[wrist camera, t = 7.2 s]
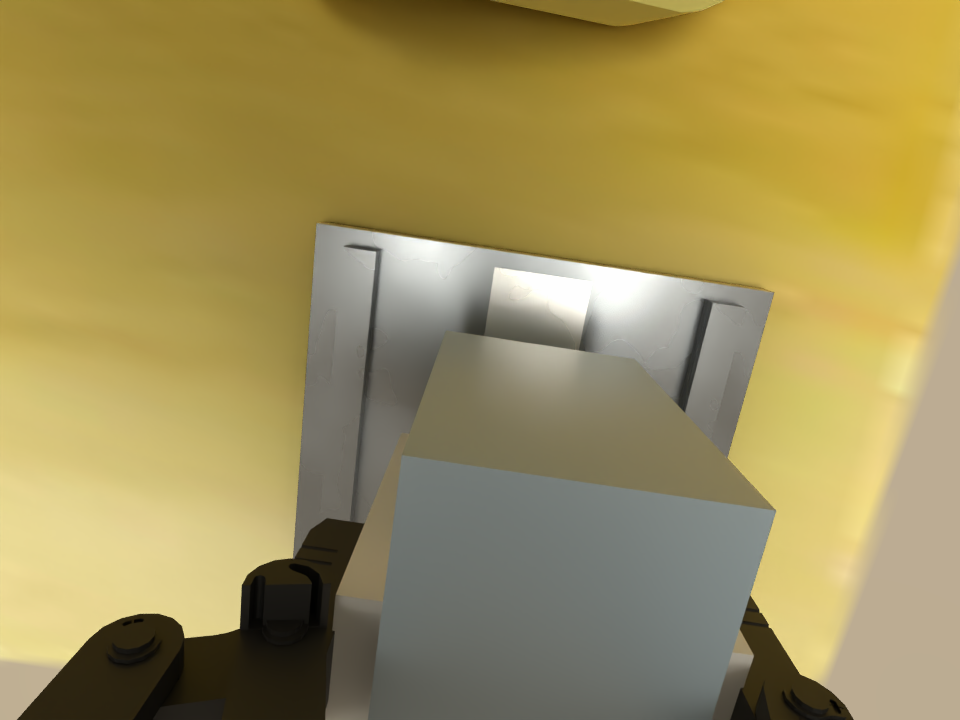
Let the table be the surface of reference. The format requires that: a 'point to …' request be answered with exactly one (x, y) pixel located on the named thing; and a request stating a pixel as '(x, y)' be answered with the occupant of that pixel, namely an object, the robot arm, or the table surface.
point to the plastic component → (616, 9)
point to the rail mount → (499, 314)
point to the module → (560, 545)
